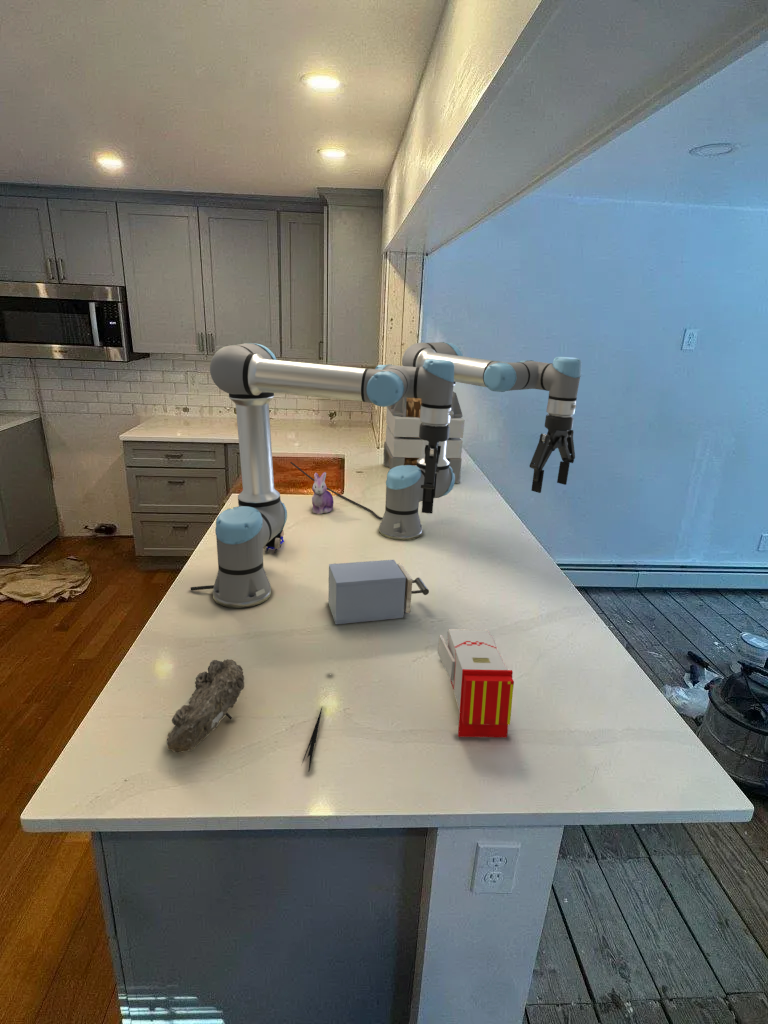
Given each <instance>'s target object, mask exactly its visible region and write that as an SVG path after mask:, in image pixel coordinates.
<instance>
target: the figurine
mask: <svg viewBox="0 0 768 1024" xmlns="http://www.w3.org/2000/svg"><path fill="white" fill-rule="evenodd" d="M326 478H327V472H326V471H324V472H322V473H321V475H320V476H319V473H317V472H315V473H314V474H313V479H314V480H315V481H313V484H312V488H311V491H312V492H313V494H312V497H311V505H312V508H311V510H312V513H313V514H318V515H322V514H328V513H330V512H332V511H333V509H334V497H333V495H332V492H331V491H329V490H327V488H328V487H327V484H326Z"/></svg>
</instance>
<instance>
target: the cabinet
mask: <svg viewBox="0 0 768 1024" xmlns="http://www.w3.org/2000/svg"><path fill="white" fill-rule="evenodd" d="M397 564H398V563H397V562H396V560H395V559H384V560H382V559H381V560H368V561H356V562H340V563H339V562H338V563H329V564H328V591H327V593H328V597H327V600H328V606H329V610H330V613H331V615H332V618H333V621H334V623H335V625H345V624H354V623H364V622H375V621H384V620H394V619H404V614H405V613H404V612H405V610H404V598H405V583H406V577H405V576H404V574H403V572H402V571H401V569H400V568H399V566H398V565H397Z"/></svg>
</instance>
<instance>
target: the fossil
mask: <svg viewBox="0 0 768 1024" xmlns="http://www.w3.org/2000/svg"><path fill="white" fill-rule="evenodd" d="M243 670H244V669H243V667H242V665H240V664H237V662H236V661H235V660H234V659H232V658H231V659H227V658H226V659H224V660H223V661H222V660H217V659H212V660H211V661H210V663H209V665H208V666H207V671H201V672H199V673H198V674H197V675H196V676H195V680H194V684H195V685H194V687H195V689H194V690H193V693H192V694H191V697H190V698H189V700H188V704H184V705H182V706H181V707H180V709H177V710H176V711H175V713H174V715H173V716H172V718H171V723H172V724H173V727H172V730H171V731H170V732H168V734H167V738H166V741H167V742H166V745H167V749H168V750H169V751H173V752H174V753H176V754H178V753H182V752H188V751H189V752H192V751H193V750H195V748H196V747H197V746H199V744H200V743H201V742H203V741H204V740H205V739H206V738H207V737H208V736H209V735H210V734H211V733H212V732H214V730H215V729H217V727H218V726H219V724H220V722H221V721H222V720H223V719H224V718H225V716H226V717H227V719H229V720H233V717H232V715H230V714H229V710H230V709H231V708H234V706H235V704H236V703H237V702H238V699H239V697H240V695H241V693H242V691H243V690H245V689H244V688H245V675H244V671H243Z"/></svg>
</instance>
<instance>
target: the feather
mask: <svg viewBox="0 0 768 1024" xmlns="http://www.w3.org/2000/svg"><path fill="white" fill-rule="evenodd" d="M329 675H330V676H331V675H332V674H331V673H330V674H329ZM322 710H323V707H321V708H320V710H319V713H318V716H317V719H316V723H315V725H314V728H313V731H312V733H311V737H310V739H309V742H308V745H307V748H306V751H305V754H304V757H303V760H302V763H301V767H302V765H303V763H304V761H305V758H308V759H309V760H308V762H307V763H308V764H307V766H308V771H310V770H311V766H312V765H311V764H312V760H313V757H315V756H314V755H315V751H316V749H315V746H317V739H318V733H319V729H320V722H321V717H322V712H323V711H322ZM313 754H314V755H313ZM306 755H307V757H306Z"/></svg>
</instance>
